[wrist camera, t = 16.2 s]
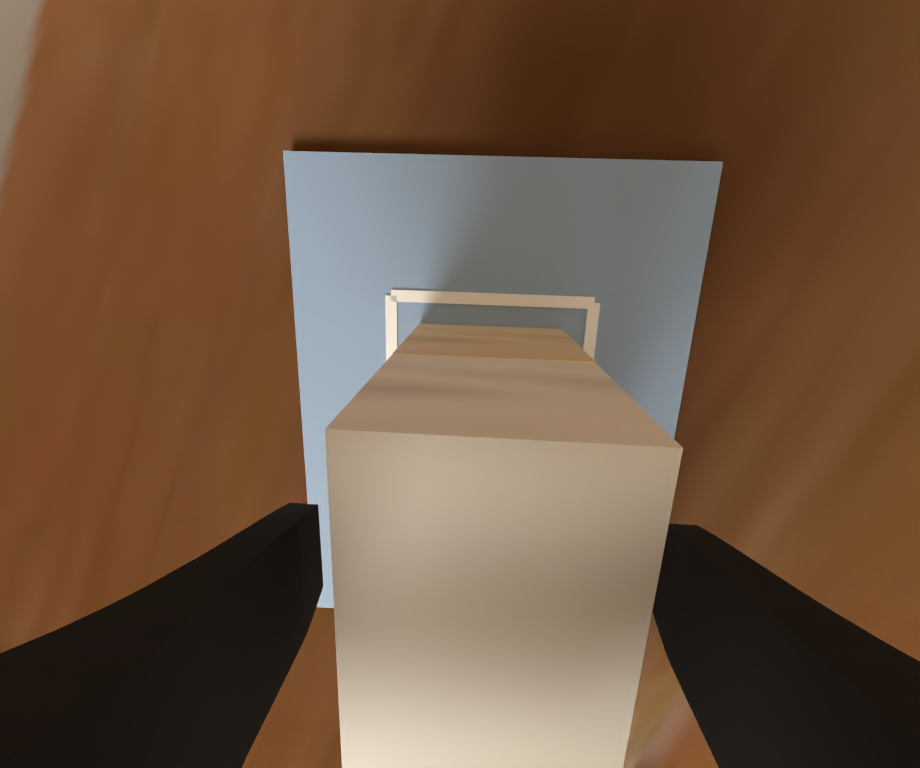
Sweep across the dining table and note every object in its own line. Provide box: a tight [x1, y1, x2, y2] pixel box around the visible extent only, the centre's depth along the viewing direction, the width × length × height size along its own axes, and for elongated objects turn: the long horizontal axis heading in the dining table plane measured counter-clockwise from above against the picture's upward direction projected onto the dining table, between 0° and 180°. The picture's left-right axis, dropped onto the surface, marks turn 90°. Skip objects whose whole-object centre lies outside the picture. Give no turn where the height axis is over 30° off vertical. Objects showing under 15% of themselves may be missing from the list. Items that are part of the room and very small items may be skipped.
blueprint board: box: [283, 151, 723, 608], centre depth 17 cm, size 18×14×1 cm
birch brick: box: [325, 354, 683, 768], centre depth 10 cm, size 7×5×5 cm
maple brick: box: [392, 324, 596, 363], centre depth 14 cm, size 7×5×5 cm
